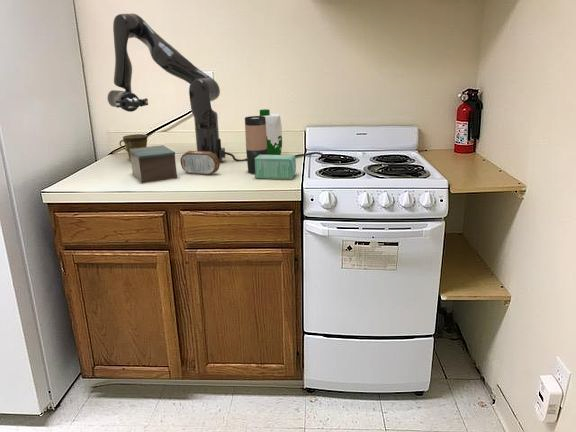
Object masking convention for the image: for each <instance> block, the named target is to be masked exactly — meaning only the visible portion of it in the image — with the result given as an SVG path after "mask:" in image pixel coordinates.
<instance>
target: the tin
mask: <svg viewBox="0 0 576 432" xmlns="http://www.w3.org/2000/svg"><path fill="white" fill-rule="evenodd" d="M180 165H181V168H182V170H183V171H184V172H185V173H187V174H190V175H203V176H210V175H213V174H215V173H216V172H218V171H219V169H220V163H219V160H218V158H217V156H216V155H215V154H213V153H212V152H204V151H197V150H188V151H186V152H185V153H183V154H182V155H181V157H180Z"/></svg>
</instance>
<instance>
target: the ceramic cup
mask: <svg viewBox="0 0 576 432" xmlns="http://www.w3.org/2000/svg"><path fill="white" fill-rule="evenodd" d="M122 142H123V143H124V146H125V147H124V146H123V145H122ZM118 145H119V147H121V148H122V149H124V151H126V152H127V155H128V158H129V161H130V162H131V157H130V150H129V149H134V148H143V147H148V135H147V134H146V133H145V134H144V133H143V134H142V133H141V134H140V133H138V134H127V135H124V136H122V139H121V140H120V141H119V144H118Z"/></svg>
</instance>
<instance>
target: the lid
mask: <svg viewBox="0 0 576 432" xmlns="http://www.w3.org/2000/svg"><path fill="white" fill-rule="evenodd" d="M129 150H130V152H132V153H133V154H134V155H135V156H136V157H138V158H139V159H141V158H150V157H158V156H166V155H175V156H176V152H175V151H174V150H172V149H170V148H168V147H167V146H165V145H164V144H163V145H162V144H161V145H154V146H152V145H151V146H146V147H143V148H134V149H129Z"/></svg>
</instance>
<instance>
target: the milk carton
mask: <svg viewBox="0 0 576 432" xmlns="http://www.w3.org/2000/svg"><path fill="white" fill-rule="evenodd" d="M258 116H264V117H265V118H266V138H267V155H282V150H283V149H282V148H283V129H282V119H281V114H280V113H270V109H268V108H264V109H263V108H262V109H259V115H258Z"/></svg>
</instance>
